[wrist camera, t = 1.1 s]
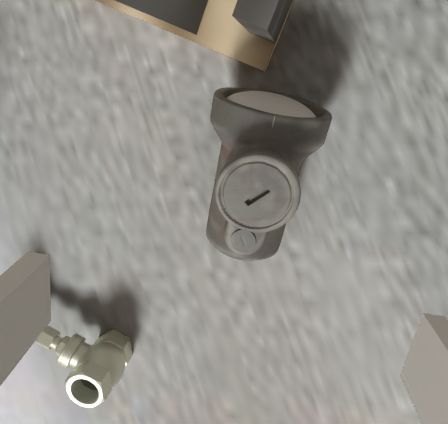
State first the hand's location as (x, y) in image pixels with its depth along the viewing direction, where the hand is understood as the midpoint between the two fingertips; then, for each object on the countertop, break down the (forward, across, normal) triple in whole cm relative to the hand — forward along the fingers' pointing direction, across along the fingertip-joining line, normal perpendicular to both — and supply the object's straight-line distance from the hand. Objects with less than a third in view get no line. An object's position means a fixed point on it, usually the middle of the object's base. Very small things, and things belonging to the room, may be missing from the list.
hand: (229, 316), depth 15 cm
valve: (+22, +13, +19) cm, 32 cm away
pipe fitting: (+21, -1, 0) cm, 21 cm away
